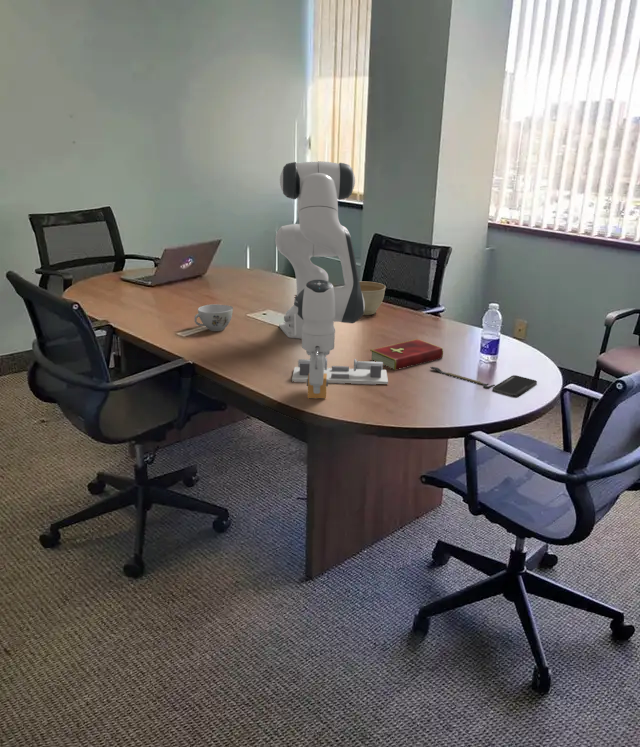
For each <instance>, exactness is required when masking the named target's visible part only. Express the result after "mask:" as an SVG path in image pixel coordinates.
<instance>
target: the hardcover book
mask: <svg viewBox="0 0 640 747" xmlns="http://www.w3.org/2000/svg"><path fill="white" fill-rule="evenodd" d="M370 352H371V361H373V360H374V361H373V362H375V361H376V362H383V364H384V365H383V366H385V365H386V366H385V367H387V366H389V367H391V368H393V369H392V370H393V371H397V370H396V369H398V370H400V369H399V368H402V369H404V368H403V367H406V368H408V367H407V366H410V367H412V366H411V365H414V366H417V365H416V364H418V365H421V364H420V363H422V364H424V362H426V363H429V362H432V360H433V361H436V359H437V360H440V358H441V359H443V357H444V348H443V347H441V346H438V345H436V344H433V343H430V342H427V341H426V340H421V339H420V338H416V339H415V338H414V339H410V340H406V341H402V342H398V343H392V344H389V345H384V346H380V347H377V348H372V349H370ZM428 361H429V362H428ZM389 367H388V368H389ZM391 368H390V369H391Z"/></svg>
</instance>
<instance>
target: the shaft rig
mask: <svg viewBox="0 0 640 747" xmlns="http://www.w3.org/2000/svg"><path fill="white" fill-rule="evenodd" d="M297 360H298V361H297V366H294V367H293V373H292V377H291V381H292V383H307V379H308V375H309V366H310V359H305V358H304V359H303V358H302V359H299V358H298V359H297ZM383 368H384V365H383V362H375V361H373V360H371V361H365V360H363V361H362V360H361V361H359V360H357V358H354V359H353V368H350V366H342V365H341V366H340V365H332V366H331V367H328V358H327V357H326V359H325V368H324V374H327V379H328V384H345V383H351V385H376V384H388V385H389V379H388V372H387V369H383ZM293 381H294V382H293Z"/></svg>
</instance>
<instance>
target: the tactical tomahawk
mask: <svg viewBox="0 0 640 747" xmlns="http://www.w3.org/2000/svg"><path fill="white" fill-rule="evenodd" d="M430 369H432V370H434V371H437V373H439V374H441V373H442V375H444V374H446V375H445V376H448V377H451V376H453V377H452V378H455V377H457V378H456V379H458V378H460V379H459V380H462V379H463V380H462V381H465V380H467V381H466V382H469V381H470V383H473V382H474V383H473V384H476V383H477V385H480V386H483V389H488V388H489V389H490V388H493V387H494V386H496V384H491V385H489V384H488V383H484V382H481V381H480V380H475V379H472V378H469V377H465V376H462V375H459V374H455V373H452V372H445V371H442V369H441V368H439V367H435V366H430ZM449 375H450V376H449ZM489 389H488V390H489Z"/></svg>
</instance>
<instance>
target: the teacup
mask: <svg viewBox="0 0 640 747" xmlns="http://www.w3.org/2000/svg"><path fill="white" fill-rule="evenodd" d="M233 309H234V307H233V306H232V305H227V304H214V303H213V304H206V305H203V306H199V307H198V308H197V314H195V316H194V323H195V325H197V326H199V327H205V328H207V329H208V330H209V331H211V332H220V331H224V330H225V328H226V327H228V325H229V324H230V322H231V320H232V316H233ZM198 318H199V320H200V322H201V323H199V322H198V321H197V320H198Z"/></svg>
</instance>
